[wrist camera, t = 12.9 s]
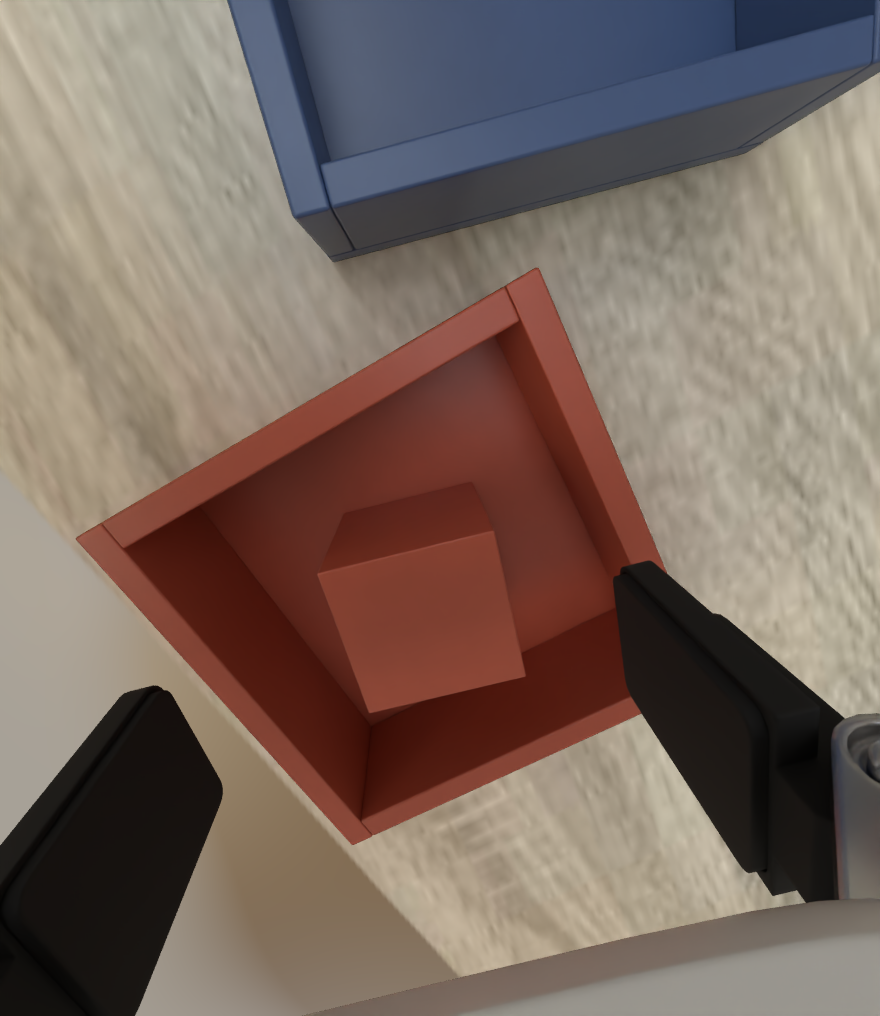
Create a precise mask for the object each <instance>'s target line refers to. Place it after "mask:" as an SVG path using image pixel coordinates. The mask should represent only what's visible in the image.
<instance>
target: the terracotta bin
mask: <svg viewBox="0 0 880 1016" xmlns="http://www.w3.org/2000/svg"><path fill="white" fill-rule="evenodd" d="M468 482H472V483H473V485H474V487H475V489H476V491H477V493H478V496H479V498H480V500H481V502H482V505H483V507H484V509H485V511H486V513H487V516H488V518H489V520H490V522H491V525H492V527H493V529H494V531H495V536H496V540H497V545H498V549H499V554H500V559H501V563H502V568H503V572H504V577H505V581H506V586H507V590H508V595H509V600H510V604H511V609H512V613H513V618H514V622H515V627H516V632H517V636H518V641H519V645H520V650H521V654H522V659H523V663H524V668H525V673H526V676H525V677H521V678H517V679H513V680H509V681H504V682H500V683H496V684H492V685H487V686H483V687H479V688H475V689H471V690H466V691H462V692H458V693H454V694H449V695H445V696H441V697H437V698H433V699H428V700H424V701H420V702H416V703H411V704H407V705H403V706H399V707H394V708H390V709H386V710H382V711H378V712H373V713H369V712H368V709H367V706H366V704H365V701H364V698H363V696H362V693H361V690H360V687H359V685H358V682H357V679H356V677H355V674H354V671H353V669H352V666H351V663H350V661H349V658H348V655H347V652H346V650H345V647H344V644H343V642H342V639H341V636H340V634H339V631H338V628H337V626H336V623H335V620H334V618H333V615H332V612H331V609H330V607H329V604H328V601H327V599H326V596H325V593H324V591H323V588H322V585H321V583H320V580H319V577H318V571H319V569H320V567H321V565H322V562H323V560H324V558H325V555H326V553H327V551H328V548H329V546H330V544H331V542H332V539H333V537H334V535H335V532H336V530H337V528H338V525H339V523H340V521H341V519H342V516H343V514H344V513H347V512H351V511H355V510H359V509H363V508H367V507H372V506H376V505H380V504H384V503H388V502H392V501H396V500H400V499H404V498H408V497H412V496H416V495H420V494H424V493H428V492H432V491H436V490H440V489H444V488H448V487H452V486H456V485H460V484H464V483H468ZM76 540H77V541H78V542H79V543H80V545H81V546H82V547H83V548H84V549H85V550H86V551H87V552H88V553H89V555H90V556H91V557H92V558H93V559H94V560H95V561H96V562H97V563H98V564H99V566H100V567H101V568H102V569H103V570H104V571H105V572H106V573H107V574H108V576H109V577H110V578H111V579H112V580H113V581H114V582H115V583H116V584H117V586H118V587H119V588H120V589H121V590H122V591H123V592H124V593H125V594H126V595H127V597H128V598H129V599H130V600H131V601H132V602H133V603H134V604H135V605H136V607H137V608H138V609H139V610H140V611H141V612H142V613H143V614H144V615H145V616H146V618H147V619H148V620H149V621H150V622H151V623H152V624H153V625H154V626H155V628H156V629H157V630H158V631H159V632H160V633H161V634H162V635H163V636H164V638H165V639H166V640H167V641H168V642H169V643H170V644H171V645H172V646H173V647H174V649H175V650H176V651H177V652H178V653H179V654H180V655H181V656H182V657H183V659H184V660H185V661H186V662H187V663H188V664H189V665H190V666H191V667H192V668H193V670H194V671H195V672H196V673H197V674H198V675H199V676H200V677H201V678H202V680H203V681H204V682H205V683H206V684H207V685H208V686H209V687H210V688H211V689H212V691H213V692H214V693H215V694H216V695H217V696H218V697H219V698H220V699H221V701H222V702H223V703H224V704H225V705H226V706H227V707H228V708H229V709H230V711H231V712H232V713H233V714H234V715H235V716H236V717H237V718H238V719H239V720H240V722H241V723H242V724H243V725H244V726H245V727H246V728H247V729H248V730H249V732H250V733H251V734H252V735H253V736H254V737H255V738H256V739H257V740H258V741H259V743H260V744H261V745H262V746H263V747H264V748H265V749H266V750H267V751H268V753H269V754H270V755H271V756H272V757H273V758H274V759H275V760H276V761H277V763H278V764H279V765H280V766H281V767H282V768H283V769H284V770H285V771H286V772H287V774H288V775H289V776H290V777H291V778H292V779H293V780H294V781H295V782H296V784H297V785H298V786H299V787H300V788H301V789H302V790H303V791H304V792H305V793H306V795H307V796H308V797H309V798H310V799H311V800H312V801H313V802H314V803H315V805H316V806H317V807H318V808H319V809H320V810H321V811H322V812H323V813H324V815H325V816H326V817H327V818H328V819H329V820H330V821H331V822H332V823H333V824H334V826H335V827H336V828H337V829H338V830H339V831H340V832H341V833H342V834H343V836H344V837H345V838H346V839H347V840H348V841H349V842H350V843H351V844H352V845H354V844H357V843H359V842H361V841H363V840H365V839H368V838H370V837H372V835H376V834H378V833H380V832H382V831H384V830H387V829H389V828H391V827H393V826H395V825H398V824H400V823H402V822H404V821H406V820H409V819H411V818H413V817H415V816H417V815H420V814H422V813H424V812H426V811H428V810H431V809H433V808H435V807H437V806H439V805H442V804H444V803H446V802H448V801H450V800H453V799H455V798H457V797H459V796H461V795H464V794H466V793H468V792H470V791H472V790H475V789H477V788H479V787H481V786H483V785H485V784H488V783H490V782H492V781H494V780H496V779H499V778H501V777H503V776H505V775H507V774H510V773H512V772H514V771H516V770H518V769H521V768H523V767H525V766H527V765H529V764H532V763H534V762H536V761H538V760H540V759H543V758H545V757H547V756H549V755H551V754H554V753H556V752H558V751H560V750H562V749H565V748H567V747H569V746H571V745H573V744H576V743H578V742H580V741H582V740H584V739H587V738H589V737H591V736H593V735H595V734H598V733H600V732H602V731H604V730H606V729H609V728H611V727H613V726H615V725H617V724H620V723H622V722H624V721H626V720H628V719H631V718H633V717H635V716H637V715H639V714H642V713H641V712H640V710H639V709H638V707H637V705H636V704H635V702H634V701H633V699H632V697H631V696H630V693H629V691H628V689H627V685H626V682H625V675H624V667H623V659H622V651H621V643H620V635H619V627H618V619H617V611H616V603H615V595H614V587H613V578H614V576H618V575H620V569H621V568H622V567H624V566H628V565H632V564H636V563H640V562H643V561H647V560H651V561H652V562H654V563H655V564H656V565H657V566H659V567H660V568H661V569H662V570H663V571H664V572H665V573H667V572H666V569H665V567H664V565H663V562H662V560H661V557H660V555H659V553H658V550H657V548H656V546H655V543H654V541H653V538H652V536H651V534H650V531H649V529H648V526H647V524H646V522H645V519H644V517H643V515H642V512H641V510H640V507H639V505H638V503H637V500H636V498H635V496H634V493H633V491H632V488H631V486H630V484H629V481H628V479H627V477H626V474H625V472H624V469H623V467H622V465H621V462H620V460H619V458H618V455H617V453H616V450H615V448H614V446H613V443H612V441H611V438H610V436H609V434H608V431H607V429H606V427H605V424H604V422H603V419H602V417H601V415H600V412H599V410H598V408H597V405H596V403H595V400H594V398H593V396H592V393H591V391H590V389H589V386H588V384H587V381H586V379H585V377H584V374H583V372H582V370H581V367H580V365H579V362H578V360H577V358H576V355H575V353H574V350H573V348H572V346H571V343H570V341H569V339H568V336H567V334H566V331H565V329H564V327H563V324H562V322H561V320H560V317H559V315H558V312H557V310H556V308H555V305H554V303H553V301H552V298H551V296H550V293H549V291H548V289H547V286H546V284H545V282H544V279H543V277H542V274H541V272H540V270H539V268H534V269H533V270H531V271H529V272H528V273H526V274H524V275H522V276H521V277H519V278H517V279H516V280H514V281H512V282H511V283H509V284H507V285H506V286H504V287H502V288H500V289H499V290H497V291H495V292H494V293H492V294H490V295H488V296H487V297H485V298H483V299H482V300H480V301H478V302H476V303H475V304H473V305H471V306H470V307H468V308H466V309H465V310H463V311H461V312H459V313H458V314H456V315H454V316H453V317H451V318H449V319H448V320H446V321H444V322H442V323H441V324H439V325H437V326H436V327H434V328H432V329H430V330H429V331H427V332H425V333H424V334H422V335H420V336H419V337H417V338H415V339H413V340H412V341H410V342H408V343H407V344H405V345H403V346H402V347H400V348H398V349H396V350H395V351H393V352H391V353H390V354H388V355H386V356H384V357H383V358H381V359H379V360H378V361H376V362H374V363H373V364H371V365H369V366H367V367H366V368H364V369H362V370H361V371H359V372H357V373H356V374H354V375H352V376H350V377H349V378H347V379H345V380H344V381H342V382H340V383H339V384H337V385H335V386H333V387H332V388H330V389H328V390H327V391H325V392H323V393H321V394H320V395H318V396H316V397H315V398H313V399H311V400H310V401H308V402H306V403H304V404H303V405H301V406H299V407H298V408H296V409H294V410H293V411H291V412H289V413H287V414H286V415H284V416H282V417H281V418H279V419H277V420H275V421H274V422H272V423H270V424H269V425H267V426H265V427H264V428H262V429H260V430H258V431H257V432H255V433H253V434H252V435H250V436H248V437H247V438H245V439H243V440H241V441H240V442H238V443H236V444H235V445H233V446H231V447H229V448H228V449H226V450H224V451H223V452H221V453H219V454H218V455H216V456H214V457H212V458H211V459H209V460H207V461H206V462H204V463H202V464H201V465H199V466H197V467H195V468H194V469H192V470H190V471H189V472H187V473H185V474H184V475H182V476H180V477H178V478H177V479H175V480H173V481H172V482H170V483H168V484H166V485H165V486H163V487H161V488H160V489H158V490H156V491H155V492H153V493H151V494H149V495H148V496H146V497H144V498H143V499H141V500H139V501H138V502H136V503H134V504H132V505H131V506H129V507H127V508H126V509H124V510H122V511H120V512H119V513H117V514H115V515H114V516H112V517H110V518H109V519H107V520H105V521H104V522H102V523H100V524H98V525H97V526H95V527H93V528H91V529H90V530H88V531H86V532H85V533H83V534H81V535H80V536H78V537H77V538H76Z"/></svg>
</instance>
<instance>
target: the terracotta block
mask: <svg viewBox="0 0 880 1016" xmlns="http://www.w3.org/2000/svg"><path fill="white" fill-rule="evenodd" d="M318 577H319V580H320V583H321V585H322V588H323V591H324V593H325V596H326V599H327V601H328V604H329V607H330V609H331V612H332V615H333V618H334V620H335V623H336V626H337V628H338V631H339V634H340V636H341V639H342V642H343V644H344V647H345V650H346V652H347V655H348V658H349V661H350V663H351V666H352V669H353V671H354V674H355V677H356V679H357V682H358V685H359V687H360V690H361V693H362V696H363V698H364V701H365V704H366V706H367V709H368V712H369V713H373V712H378V711H382V710H386V709H390V708H394V707H399V706H403V705H407V704H411V703H416V702H420V701H424V700H428V699H433V698H437V697H441V696H445V695H449V694H454V693H458V692H462V691H466V690H471V689H475V688H479V687H483V686H487V685H492V684H496V683H500V682H504V681H509V680H513V679H517V678H521V677H525V676H526V673H525V668H524V663H523V659H522V654H521V650H520V645H519V641H518V636H517V632H516V627H515V622H514V618H513V613H512V609H511V604H510V600H509V595H508V590H507V586H506V581H505V577H504V572H503V568H502V563H501V559H500V554H499V549H498V545H497V540H496V536H495V531H494V529H493V527H492V525H491V522H490V520H489V518H488V516H487V513H486V511H485V509H484V507H483V505H482V502H481V500H480V498H479V496H478V493H477V491H476V489H475V487H474V485H473V483H472V482H468V483H464V484H460V485H456V486H452V487H448V488H444V489H440V490H436V491H432V492H428V493H424V494H420V495H416V496H412V497H408V498H404V499H400V500H396V501H392V502H388V503H384V504H380V505H376V506H372V507H367V508H363V509H359V510H355V511H351V512H347V513H344V514H343V516H342V519H341V521H340V523H339V525H338V528H337V530H336V532H335V535H334V537H333V539H332V542H331V544H330V546H329V548H328V551H327V553H326V555H325V558H324V560H323V562H322V565H321V567H320V569H319V571H318Z"/></svg>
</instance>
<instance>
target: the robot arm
mask: <svg viewBox="0 0 880 1016" xmlns="http://www.w3.org/2000/svg"><path fill="white" fill-rule="evenodd" d="M613 587H614V595H615V603H616V611H617V619H618V627H619V635H620V643H621V651H622V659H623V667H624V675H625V682H626V685H627V689H628V691H629V693H630V696H631V697H632V699H633V701H634V702H635V704H636V705H637V707H638V709H639V710H640V712H641V713H642V715H643V716H644V718H645V719H646V721H647V722H648V724H649V726H650V727H651V729H652V730H653V732H654V733H655V735H656V736H657V738H658V739H659V741H660V743H661V744H662V746H663V747H664V749H665V750H666V752H667V753H668V755H669V756H670V758H671V760H672V761H673V763H674V764H675V766H676V767H677V769H678V770H679V772H680V774H681V775H682V777H683V778H684V780H685V781H686V783H687V784H688V786H689V787H690V789H691V791H692V792H693V794H694V795H695V797H696V798H697V800H698V801H699V803H700V804H701V806H702V808H703V809H704V811H705V812H706V814H707V815H708V817H709V818H710V820H711V821H712V823H713V825H714V826H715V828H716V829H717V831H718V832H719V834H720V835H721V837H722V838H723V840H724V842H725V843H726V845H727V846H728V848H729V849H730V851H731V852H732V854H733V855H734V857H735V859H736V860H737V862H738V863H739V864H740V866H741V867H742V868H743V869H744V870H745V871H746V872H747V873H752V872H757V873H758V875H759V876H760V878H761V879H762V881H763V882H764V884H765V885H766V887H767V888H768V890H769V891H770V893H771V894H772V896H775V895H779V894H783V893H787V892H791V891H795V890H797V891H798V892H799V894H800V895H801V896H802V898H803V899H804V901H805V902H806V903H803V904H796V905H789V906H783V907H776V908H770V909H763V910H757V911H751V912H746V913H741V914H737V915H732V916H727V917H723V918H718V919H713V920H709V921H704V922H699V923H695V924H690V925H685V926H681V927H676V928H671V929H667V930H662V931H657V932H653V933H648V934H643V935H639V936H634V937H629V938H625V939H621V940H616V941H612V942H608V943H604V944H600V945H595V946H591V947H587V948H583V949H578V950H574V951H570V952H566V953H562V954H557V955H553V956H549V957H545V958H541V959H536V960H532V961H528V962H524V963H519V964H515V965H511V966H507V967H503V968H498V969H494V970H490V971H486V972H482V973H477V974H473V975H469V976H465V977H460V978H456V979H452V980H448V981H444V982H440V983H435V984H431V985H427V986H423V987H419V988H415V989H410V990H406V991H402V992H398V993H394V994H390V995H386V996H382V997H378V998H373V999H369V1000H366V1001H361V1002H357V1003H353V1004H349V1005H345V1006H340V1007H336V1008H333V1009H329V1010H324V1011H320V1012H316V1013H312V1014H308V1015H304V1016H880V714H878V713H876V714H858V715H855V716H852V717H849V718H846V719H845V718H844V717H843V716H841V715H840V714H839V713H838V712H837V711H835V710H834V709H833V708H832V707H831V706H829V705H828V704H827V703H826V702H825V701H824V700H822V699H821V698H820V697H819V696H818V695H816V694H815V693H814V692H813V691H812V690H811V689H809V688H808V687H807V686H806V685H805V684H803V683H802V682H801V681H800V680H799V679H798V678H796V677H795V676H794V675H793V674H792V673H790V672H789V671H788V670H787V669H786V668H785V667H783V666H782V665H781V664H780V663H779V662H777V661H776V660H775V659H774V658H773V657H772V656H770V655H769V654H768V653H767V652H766V651H764V650H763V649H762V648H761V647H760V646H759V645H757V644H756V643H755V642H754V641H753V640H751V639H750V638H749V637H748V636H747V635H746V634H744V633H743V632H742V631H741V630H740V629H738V628H737V627H736V626H735V625H734V624H733V623H731V622H730V621H729V620H728V619H726V618H725V617H723V616H722V615H720V614H713V613H712V612H710V611H709V610H708V609H707V608H706V607H705V606H703V605H702V604H701V603H700V602H699V601H698V600H697V599H695V598H694V597H693V596H692V595H691V594H690V593H688V592H687V591H686V590H685V589H684V588H683V587H682V586H680V585H679V584H678V583H677V582H676V581H675V580H673V579H672V578H671V577H670V576H669V575H668V574H667V573H665V572H664V571H663V570H662V569H661V568H660V567H659V566H657V565H656V564H655V563H654V562H652V561H651V560H647V561H643V562H640V563H636V564H632V565H628V566H624V567H622V568H621V569H620V575H618V576H614V578H613ZM222 795H223V788H222V783H221V781H220V779H219V777H218V775H217V773H216V772H215V770H214V768H213V766H212V764H211V763H210V761H209V759H208V757H207V756H206V754H205V752H204V750H203V749H202V747H201V745H200V743H199V742H198V740H197V738H196V736H195V734H194V733H193V731H192V729H191V728H190V726H189V724H188V722H187V720H186V719H185V717H184V715H183V713H182V712H181V710H180V708H179V706H178V705H177V703H176V701H175V699H174V697H173V696H172V694H171V693H170V692H169V691H166V690H163V689H162V688H161V687H159V686H149V687H145V688H141V689H138V690H134V691H130V692H127V693H124V694H123V695H122V696H121V697H120V698H119V699H118V700H117V701H116V703H115V704H114V705H113V706H112V708H111V709H110V710H109V711H108V712H107V714H106V715H105V716H104V717H103V719H102V720H101V721H100V723H99V724H98V725H97V726H96V727H95V729H94V730H93V731H92V732H91V734H90V735H89V736H88V737H87V739H86V740H85V741H84V742H83V743H82V745H81V746H80V747H79V748H78V750H77V751H76V752H75V753H74V755H73V756H72V757H71V758H70V760H69V761H68V762H67V763H66V765H65V766H64V767H63V768H62V770H61V771H60V772H59V773H58V775H57V776H56V777H55V778H54V780H53V781H52V782H51V783H50V784H49V786H48V787H47V788H46V790H45V791H44V792H43V793H42V794H41V796H40V797H39V798H38V799H37V801H36V802H35V803H34V804H33V806H32V807H31V808H30V809H29V811H28V812H27V813H26V814H25V815H24V817H23V818H22V819H21V820H20V822H19V823H18V824H17V825H16V827H15V828H14V829H13V830H12V832H11V833H10V834H9V835H8V837H7V838H6V839H5V840H4V842H3V843H2V844H1V845H0V1016H135V1014H136V1012H137V1010H138V1008H139V1006H140V1004H141V1001H142V999H143V996H144V993H145V991H146V989H147V986H148V983H149V981H150V979H151V976H152V974H153V971H154V969H155V966H156V964H157V961H158V958H159V956H160V953H161V951H162V948H163V946H164V943H165V941H166V938H167V935H168V933H169V931H170V928H171V926H172V923H173V921H174V918H175V916H176V913H177V911H178V908H179V906H180V903H181V901H182V898H183V896H184V893H185V891H186V888H187V886H188V883H189V881H190V878H191V876H192V873H193V871H194V868H195V866H196V863H197V861H198V858H199V856H200V853H201V851H202V848H203V846H204V843H205V841H206V838H207V836H208V833H209V831H210V828H211V826H212V823H213V821H214V818H215V816H216V813H217V811H218V808H219V806H220V803H221V800H222Z"/></svg>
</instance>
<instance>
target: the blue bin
mask: <svg viewBox="0 0 880 1016" xmlns="http://www.w3.org/2000/svg"><path fill="white" fill-rule="evenodd" d="M227 1H228V5H229V8H230V11H231V14H232V18H233V21H234V24H235V28H236V31H237V34H238V38H239V41H240V44H241V47H242V51H243V54H244V57H245V61H246V64H247V67H248V70H249V74H250V77H251V80H252V84H253V87H254V90H255V93H256V97H257V100H258V103H259V107H260V110H261V113H262V117H263V120H264V123H265V126H266V130H267V133H268V136H269V140H270V143H271V146H272V149H273V153H274V156H275V159H276V163H277V166H278V169H279V172H280V176H281V179H282V182H283V186H284V189H285V192H286V196H287V199H288V202H289V205H290V209H291V212H292V215H293V217H294V218H295V219H296V220H297V222H298V223H299V224H300V225H301V226H302V227H303V228H304V229H305V231H306V232H307V233H308V234H309V235H310V236H311V237H312V238H313V240H314V241H315V242H316V243H317V244H318V245H319V246H320V247H321V249H322V250H323V251H324V252H325V253H326V254H327V255H328V257H329V258H330V259H331V260H332V261H333V262H336V261H340V260H344V259H348V258H352V257H355V256H359V255H363V254H367V253H370V252H374V251H378V250H382V249H385V248H389V247H393V246H397V245H401V244H404V243H408V242H412V241H416V240H419V239H423V238H427V237H431V236H434V235H438V234H442V233H446V232H450V231H453V230H457V229H461V228H465V227H468V226H472V225H476V224H480V223H484V222H487V221H491V220H495V219H499V218H502V217H506V216H510V215H514V214H517V213H521V212H525V211H529V210H533V209H536V208H540V207H544V206H548V205H551V204H555V203H559V202H563V201H566V200H570V199H574V198H578V197H582V196H585V195H589V194H593V193H597V192H600V191H604V190H608V189H612V188H616V187H619V186H623V185H627V184H631V183H634V182H638V181H642V180H646V179H649V178H653V177H657V176H661V175H665V174H668V173H672V172H676V171H680V170H683V169H687V168H691V167H695V166H698V165H702V164H706V163H710V162H714V161H717V160H721V159H725V158H729V157H732V156H736V155H740V154H744V153H746V152H748V151H750V150H751V149H753V148H755V147H756V146H758V145H760V144H761V143H763V142H764V141H766V140H768V139H769V138H771V137H773V136H774V135H776V134H777V133H779V132H781V131H782V130H784V129H786V128H787V127H789V126H791V125H792V124H794V123H796V122H797V121H799V120H801V119H802V118H804V117H806V116H807V115H809V114H811V113H812V112H814V111H816V110H817V109H819V108H821V107H822V106H824V105H826V104H827V103H829V102H831V101H832V100H834V99H836V98H837V97H839V96H841V95H842V94H844V93H846V92H847V91H849V90H851V89H852V88H854V87H856V86H857V85H859V84H861V83H862V82H864V81H866V80H867V79H869V78H871V77H872V76H874V75H876V74H877V73H879V72H880V0H227Z"/></svg>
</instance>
